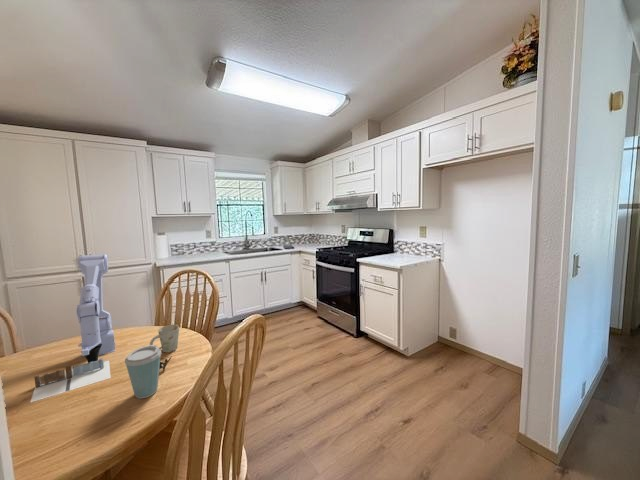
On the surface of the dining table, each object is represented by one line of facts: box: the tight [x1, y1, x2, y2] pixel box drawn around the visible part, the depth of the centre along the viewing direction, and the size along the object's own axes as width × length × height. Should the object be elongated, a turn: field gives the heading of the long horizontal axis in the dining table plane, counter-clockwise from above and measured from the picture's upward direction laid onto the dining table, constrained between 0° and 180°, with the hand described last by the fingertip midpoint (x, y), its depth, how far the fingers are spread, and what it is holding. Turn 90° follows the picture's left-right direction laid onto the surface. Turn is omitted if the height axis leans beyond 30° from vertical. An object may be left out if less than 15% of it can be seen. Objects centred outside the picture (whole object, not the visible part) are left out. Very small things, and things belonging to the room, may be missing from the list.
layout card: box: [30, 360, 112, 404], centre depth 102 cm, size 21×16×1 cm
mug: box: [149, 324, 180, 353], centre depth 122 cm, size 8×13×10 cm, turn 148°
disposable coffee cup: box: [124, 344, 163, 399], centre depth 93 cm, size 11×11×15 cm
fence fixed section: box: [34, 365, 73, 388], centre depth 99 cm, size 10×2×4 cm, turn 130°
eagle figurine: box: [159, 355, 173, 372], centre depth 108 cm, size 8×7×9 cm
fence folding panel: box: [72, 357, 104, 375], centre depth 106 cm, size 9×1×4 cm, turn 130°
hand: (93, 364), depth 109 cm, fingers closed
